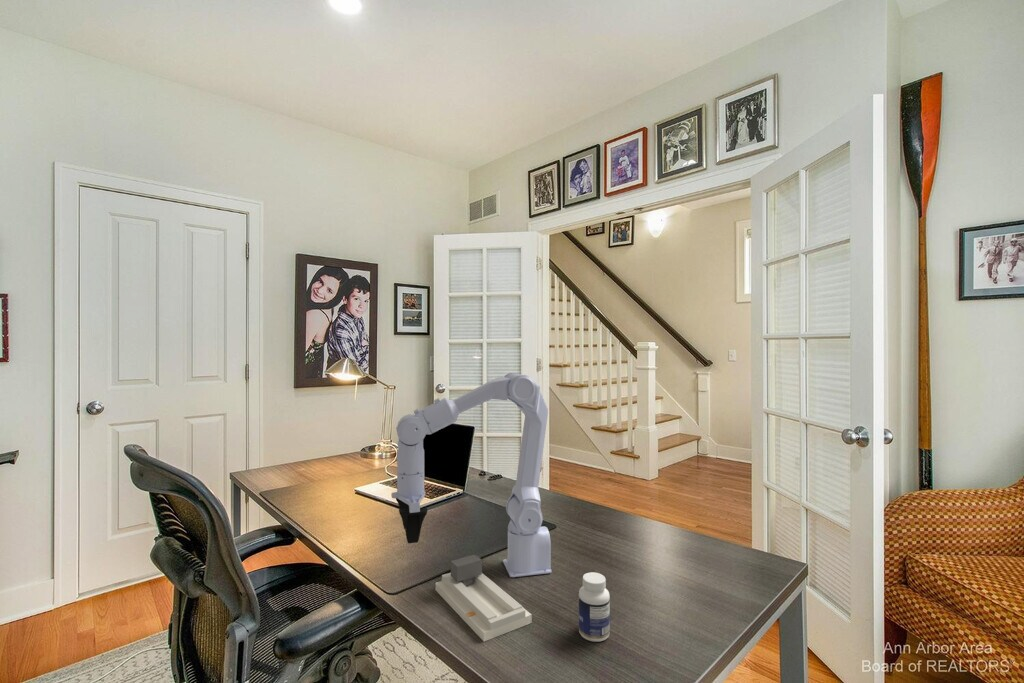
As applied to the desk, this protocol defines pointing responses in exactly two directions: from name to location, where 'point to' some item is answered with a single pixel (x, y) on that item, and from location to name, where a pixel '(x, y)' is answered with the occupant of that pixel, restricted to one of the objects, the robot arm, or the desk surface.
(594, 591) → the pill bottle
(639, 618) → the desk surface
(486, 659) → the desk surface
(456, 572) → the fader tab
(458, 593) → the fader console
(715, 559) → the desk surface
